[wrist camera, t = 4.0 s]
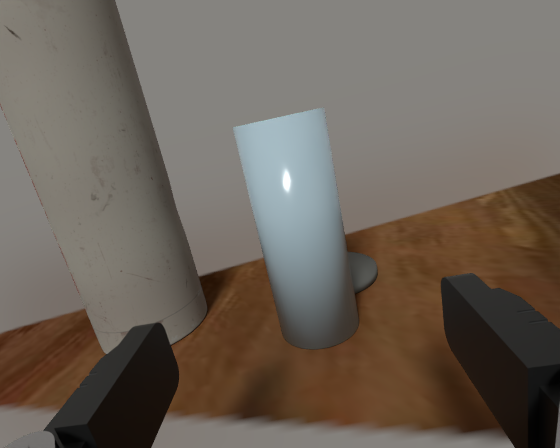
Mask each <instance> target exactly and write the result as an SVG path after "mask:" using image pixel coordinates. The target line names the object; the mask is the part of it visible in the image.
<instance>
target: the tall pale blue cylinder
mask: <svg viewBox="0 0 560 448" xmlns="http://www.w3.org/2000/svg"><path fill="white" fill-rule="evenodd" d="M233 131H234V135H235V139H236V143H237V147H238V151H239V155H240V160H241V163H242V168H243V172H244V177H245V181H246V185H247V189H248V193H249V197H250V202H251V205H252V210H253V214H254V218H255V222H256V226H257V231H258V235H259V239H260V243H261V247H262V252H263V256H264V260H265V264H266V268H267V273H268V277H269V281H270V285H271V289H272V293H273V298H274V302H275V306H276V310H277V314H278V318H279V323H280V327H281V331H282V335H283V337H284V339H285V340H286V341H287V342H288V343H290V344H291V345H293V346H296V347H299V348H304V349H323V348H328V347H332V346H335V345H337V344H340V343H342V342H344V341H345V340H347V339H348V338H350V337H351V336H352V335H353V334H354V333H355V331H356V330H357V328H358V325H359V318H358V312H357V306H356V299H355V293H354V287H353V281H352V275H351V269H350V263H349V257H348V251H347V245H346V239H345V232H344V226H343V221H342V214H341V208H340V202H339V196H338V190H337V184H336V178H335V173H334V166H333V160H332V153H331V148H330V141H329V135H328V129H327V123H326V117H325V112H324V108H320V109H315V110H310V111H306V112H301V113H296V114H292V115H287V116H283V117H278V118H274V119H269V120H265V121H260V122H255V123H251V124H246V125H242V126H237V127H234V128H233Z"/></svg>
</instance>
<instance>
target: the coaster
mask: <svg viewBox="0 0 560 448" xmlns="http://www.w3.org/2000/svg"><path fill="white" fill-rule="evenodd" d="M348 257H349V263H350V269H351V275H352V281H353V287H354V293H355V294H356V293H358V292H360V291H362V290H364V289H366V288H368V287H369V286H370V285H371V284H373V282H374V281H375V280H376V278H377V275H378V273H377V265H376V262H375V261H374V260H373V259H372V258H370V257H369V256H366V255H364V254H360V253H354V252H348Z"/></svg>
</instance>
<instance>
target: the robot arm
mask: <svg viewBox="0 0 560 448" xmlns="http://www.w3.org/2000/svg"><path fill="white" fill-rule="evenodd" d="M441 293H442V306H443V318H444V329H445V334H446V338H447V341H448V344H449V346H450V348H451V350H452V352H453V353H454V355H455V357H456V358H457V360H458V361H459V363H460V364H461V366H462V367H463V369H464V370H465V372H466V373H467V375H468V376H469V378H470V380H471V381H472V383H473V384H474V386H475V387H476V389H477V390H478V392H479V393H480V395H481V396H482V398H483V399H484V401H485V402H486V404H487V406H488V407H489V409H490V410H491V412H492V413H493V415H494V416H495V418H496V419H497V421H498V422H499V424H500V425H501V427H502V429H503V430H504V432H505V433H506V435H507V436H508V438H509V439H510V441H511V442H512V444H513V445H514V447H515V448H560V329H559V328H557V327H556V326H555V325H554V324H553V323H551V322H548V320H547V319H546V318H545V317H544V316H543V315H542V314H540V313H539V312H538V311H535V309H534V308H533V307H532V306H531V305H529V304H528V303H527V302H526V301H525V300H523V299H522V298H521V297H519V296H517V295H515V294H512V293H510V292H508V291H505V290H503V289H501V288H496V289H491V288H489V287H488V286H487V285H486V284H485V283H484V282H483V281H482V280H481V279H479V278H478V277H477V276H476V275H475V274H473V273H468V274H462V275H456V276H450V277H444V278H442V280H441ZM178 382H179V369H178V365H177V362H176V359H175V356H174V353H173V350H172V348H171V345H170V342H169V339H168V336H167V333H166V330H165V328H164V326H163V325H162V324H161V323H159V322H157V323H151V324H145V325H139V326H134V327H132V328H131V329H130V330H129V332H128V333H127V334H126V336H125V337H124V338H123V339H122V341H121V342H120V343H119V345H118V346H116V347H115V348H114V349H113V350H111V351H110V352H109V353H108V354H106V355H105V356H104V357H103V358H101V359H100V360H99V362H98V363H97V364H96V365H95V367H94V368H93V369H92V370H91V372H90V373H89V376H87V377H86V378H85V379H84V380H83V382H82V383H81V384H80V388H77V389H76V390H75V392H74V393H73V394H72V395H71V397H70V398H69V399H68V400H67V402H66V403H65V404H64V405H63V407H62V408H61V409H60V410H59V412H58V413H57V414H56V415H55V417H54V418H53V419H52V420H51V422H50V423H49V424H48V425H47V427H46V428H45V429H44V430H43V431H38V432H34V433H30V434H28V435H25V436H23V437H21V438H19V439H17V440H15V441H13V442H12V443H10V444H8V445H7V446H5V447H4V448H151V447H152V444H153V442H154V440H155V437H156V435H157V433H158V431H159V428H160V426H161V424H162V422H163V419H164V417H165V415H166V413H167V410H168V408H169V406H170V403H171V401H172V399H173V397H174V394H175V392H176V390H177V387H178Z"/></svg>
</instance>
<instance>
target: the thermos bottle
mask: <svg viewBox="0 0 560 448" xmlns="http://www.w3.org/2000/svg"><path fill="white" fill-rule="evenodd" d="M0 105H1V108H2V110H3V113H4V115H5V117H6V120H7V122H8V125H9V127H10V130H11V132H12V134H13V137H14V139H15V142H16V144H17V146H18V149H19V151H20V153H21V156H22V158H23V161H24V163H25V166H26V168H27V170H28V173H29V175H30V177H31V180H32V182H33V185H34V187H35V190H36V192H37V194H38V197H39V199H40V201H41V204H42V206H43V209H44V211H45V213H46V216H47V218H48V221H49V223H50V225H51V228H52V230H53V233H54V235H55V237H56V240H57V242H58V245H59V247H60V249H61V252H62V254H63V256H64V259H65V261H66V264H67V266H68V268H69V271H70V273H71V276H72V278H73V281H74V283H75V285H76V288H77V290H78V292H79V295H80V297H81V300H82V302H83V304H84V307H85V309H86V312H87V314H88V316H89V319H90V321H91V324H92V326H93V328H94V331H95V333H96V336H97V338H98V340H99V343H100V345H101V347H102V349H103V351H104V352H105V353H106V354H108V353H109V352H110V351H111V350H113V349H114V348H115V347H116V346H118V345H119V343H120V342H121V341H122V339H123V338H124V337H125V336H126V334H127V333H128V332H129V330H130V329H131V328H132V327H134V326H139V325H145V324H151V323H157V322H159V323H161V324H162V325H163V326H164V328H165V330H166V333H167V336H168V339H169V342H170V345H172V344H174V343H175V342H177V341H179V340H181V339H182V338H184V337H185V336H187V335H188V334H189V333H191V332H192V331H193V330H194V329H195V328H196V327H197V326H198V325H199V324H200V323H201V322H202V321H203V319H204V317H205V315H206V312H207V304H206V300H205V297H204V294H203V290H202V287H201V284H200V280H199V277H198V274H197V270H196V267H195V264H194V261H193V257H192V254H191V250H190V247H189V244H188V241H187V237H186V234H185V231H184V229H183V226H182V223H181V220H180V217H179V215H178V212H177V209H176V205H175V202H174V198H173V194H172V190H171V186H170V182H169V178H168V174H167V171H166V168H165V164H164V161H163V158H162V155H161V151H160V148H159V145H158V141H157V138H156V135H155V131H154V128H153V125H152V122H151V118H150V115H149V111H148V108H147V105H146V102H145V98H144V95H143V92H142V88H141V85H140V82H139V78H138V75H137V72H136V68H135V65H134V62H133V58H132V55H131V52H130V49H129V45H128V42H127V38H126V35H125V32H124V29H123V25H122V22H121V19H120V15H119V12H118V9H117V6H116V2H115V0H0Z"/></svg>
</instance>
